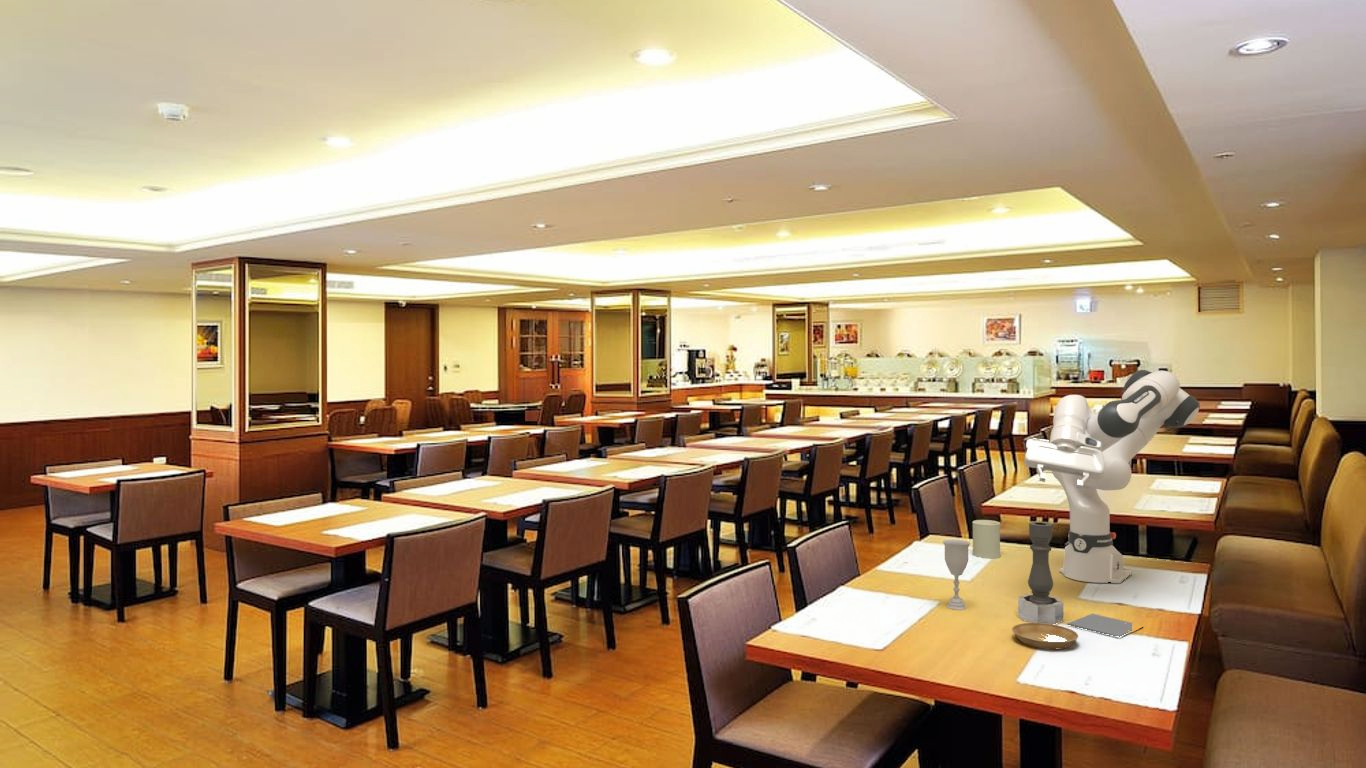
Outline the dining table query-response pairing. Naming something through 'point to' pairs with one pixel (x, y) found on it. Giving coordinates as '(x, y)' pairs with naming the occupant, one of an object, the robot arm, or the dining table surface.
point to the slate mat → (1103, 625)
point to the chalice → (956, 567)
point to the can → (986, 539)
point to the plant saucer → (1034, 630)
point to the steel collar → (1040, 610)
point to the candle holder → (1040, 562)
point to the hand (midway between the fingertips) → (1060, 483)
